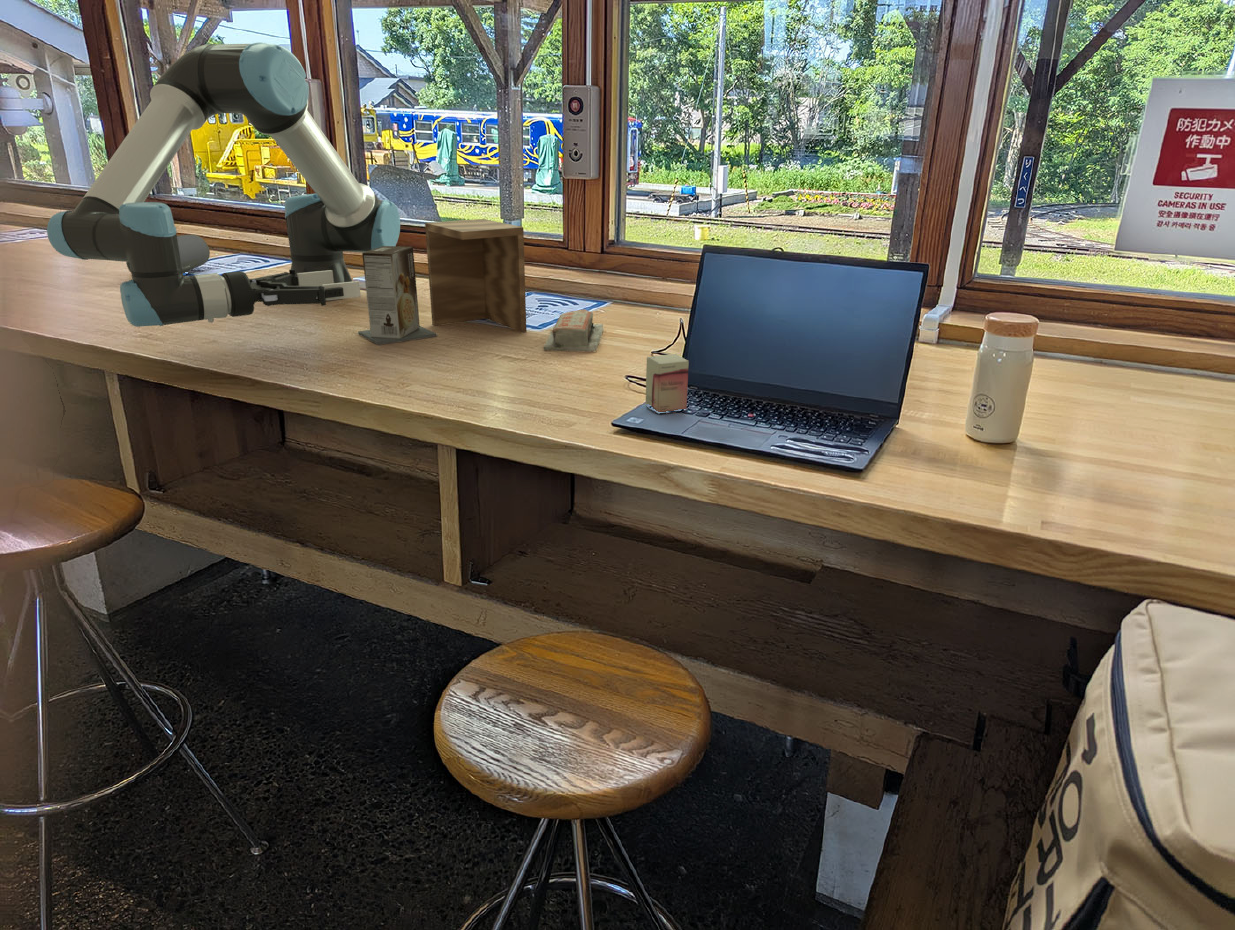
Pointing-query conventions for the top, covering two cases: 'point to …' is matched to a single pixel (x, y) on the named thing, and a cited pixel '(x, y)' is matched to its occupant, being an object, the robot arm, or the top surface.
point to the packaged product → (575, 332)
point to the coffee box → (391, 291)
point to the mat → (413, 335)
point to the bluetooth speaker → (190, 252)
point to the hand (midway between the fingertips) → (345, 282)
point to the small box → (667, 382)
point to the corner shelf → (476, 272)
